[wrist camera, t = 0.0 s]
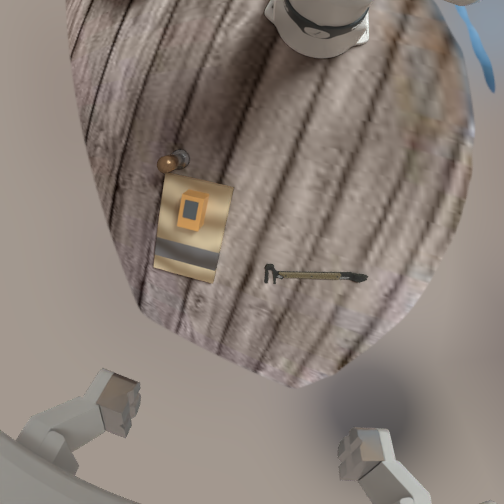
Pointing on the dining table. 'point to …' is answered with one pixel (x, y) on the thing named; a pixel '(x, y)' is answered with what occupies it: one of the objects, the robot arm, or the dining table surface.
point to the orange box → (192, 210)
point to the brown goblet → (173, 161)
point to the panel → (189, 241)
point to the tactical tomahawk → (313, 275)
